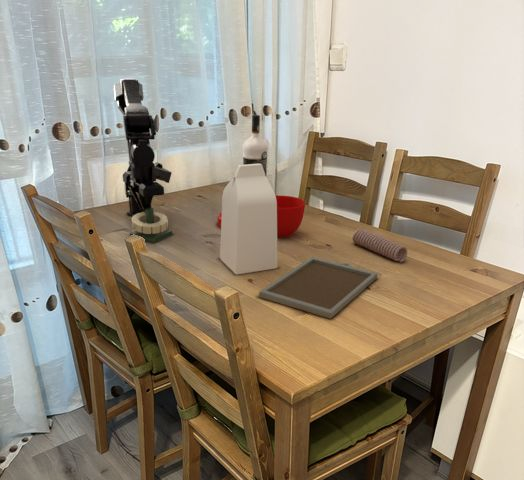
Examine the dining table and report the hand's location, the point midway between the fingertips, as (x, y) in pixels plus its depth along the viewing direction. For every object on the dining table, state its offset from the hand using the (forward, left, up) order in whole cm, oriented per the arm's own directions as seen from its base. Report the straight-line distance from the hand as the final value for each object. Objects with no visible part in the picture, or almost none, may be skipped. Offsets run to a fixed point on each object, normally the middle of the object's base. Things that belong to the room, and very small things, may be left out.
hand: (145, 212), depth 166 cm
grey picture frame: (+62, -6, -6) cm, 62 cm away
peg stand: (+4, -2, -6) cm, 7 cm away
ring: (+3, -2, -3) cm, 5 cm away
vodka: (+15, +40, -6) cm, 43 cm away
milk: (+39, -4, -6) cm, 39 cm away
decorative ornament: (+19, +20, -6) cm, 28 cm away
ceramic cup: (+34, +23, -6) cm, 41 cm away
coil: (+66, +24, -6) cm, 70 cm away
